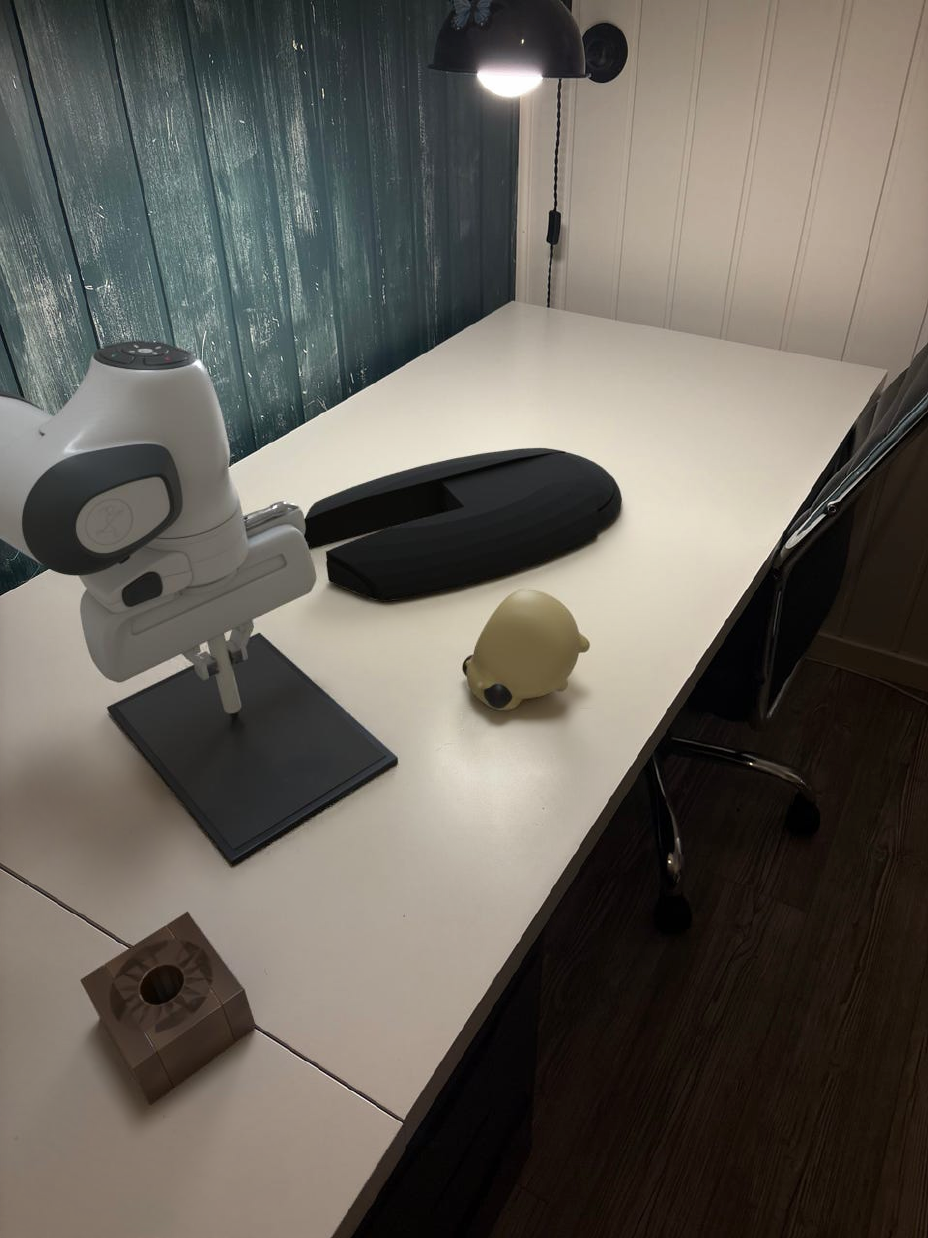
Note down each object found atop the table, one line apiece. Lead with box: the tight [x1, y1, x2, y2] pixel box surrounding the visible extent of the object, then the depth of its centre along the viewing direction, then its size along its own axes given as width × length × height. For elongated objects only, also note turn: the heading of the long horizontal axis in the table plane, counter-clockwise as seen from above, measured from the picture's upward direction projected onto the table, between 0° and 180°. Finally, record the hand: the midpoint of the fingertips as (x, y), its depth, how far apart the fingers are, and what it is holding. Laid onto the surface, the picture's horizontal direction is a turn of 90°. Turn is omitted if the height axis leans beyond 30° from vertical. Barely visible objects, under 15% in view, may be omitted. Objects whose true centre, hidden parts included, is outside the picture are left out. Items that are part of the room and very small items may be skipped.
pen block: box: [80, 911, 257, 1106], centre depth 63 cm, size 8×8×5 cm
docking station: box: [304, 447, 623, 602], centre depth 113 cm, size 25×40×5 cm, turn 116°
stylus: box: [206, 633, 241, 718], centre depth 82 cm, size 2×2×14 cm
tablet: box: [106, 632, 399, 867], centre depth 86 cm, size 17×24×1 cm
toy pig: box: [461, 588, 591, 711], centre depth 88 cm, size 10×12×11 cm
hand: (222, 666), depth 83 cm, fingers closed on stylus, 1 cm apart
